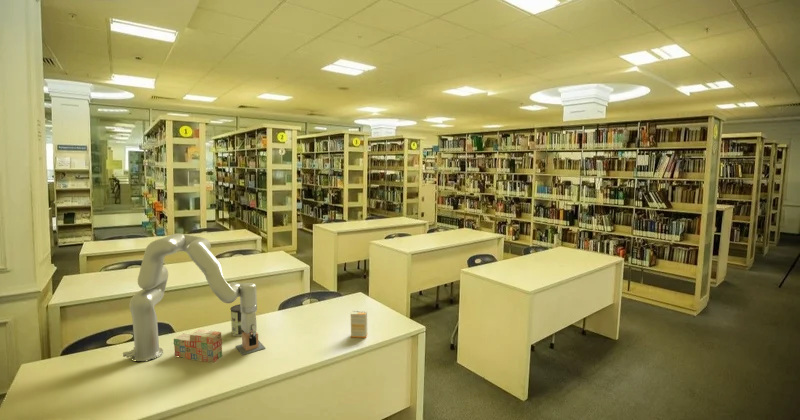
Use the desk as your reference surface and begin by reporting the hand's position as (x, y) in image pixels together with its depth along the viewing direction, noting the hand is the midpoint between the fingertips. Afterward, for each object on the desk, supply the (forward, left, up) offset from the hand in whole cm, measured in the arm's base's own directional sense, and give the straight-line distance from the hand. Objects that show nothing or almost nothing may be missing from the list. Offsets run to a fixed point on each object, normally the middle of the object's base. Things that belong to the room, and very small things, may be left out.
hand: (249, 341), depth 189 cm
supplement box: (+50, -22, -4) cm, 55 cm away
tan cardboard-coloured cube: (0, 0, -3) cm, 3 cm away
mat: (0, 0, -3) cm, 3 cm away
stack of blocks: (-22, +6, -4) cm, 23 cm away
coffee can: (+2, +21, -4) cm, 22 cm away
